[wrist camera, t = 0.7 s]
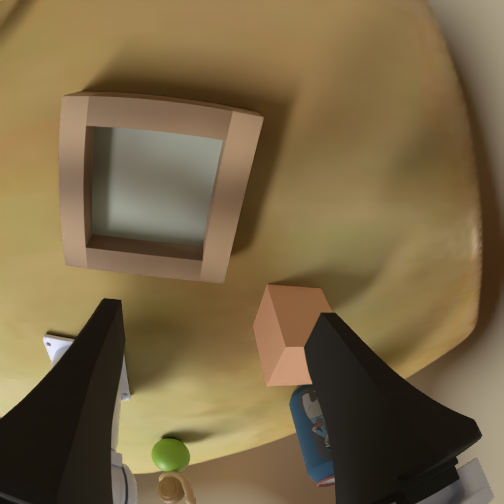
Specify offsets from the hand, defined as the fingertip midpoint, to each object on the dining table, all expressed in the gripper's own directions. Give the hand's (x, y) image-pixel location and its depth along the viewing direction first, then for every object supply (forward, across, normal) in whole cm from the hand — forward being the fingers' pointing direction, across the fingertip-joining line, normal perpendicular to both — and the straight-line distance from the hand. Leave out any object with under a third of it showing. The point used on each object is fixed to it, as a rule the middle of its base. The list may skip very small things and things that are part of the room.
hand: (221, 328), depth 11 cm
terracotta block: (+10, -7, +8) cm, 14 cm away
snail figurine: (+10, +1, +36) cm, 37 cm away
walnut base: (+10, +4, -2) cm, 10 cm away
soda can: (+10, -15, +21) cm, 28 cm away
